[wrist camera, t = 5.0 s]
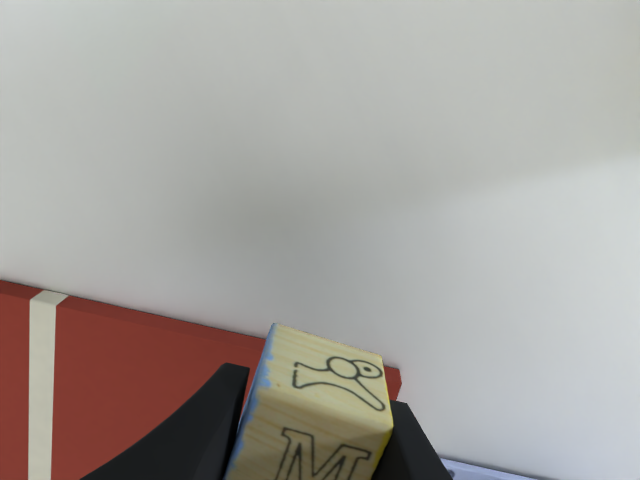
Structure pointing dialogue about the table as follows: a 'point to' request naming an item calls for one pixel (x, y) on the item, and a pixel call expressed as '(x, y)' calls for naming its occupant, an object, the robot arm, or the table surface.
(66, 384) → the towel
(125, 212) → the table surface
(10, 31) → the table surface
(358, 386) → the alphabet block
